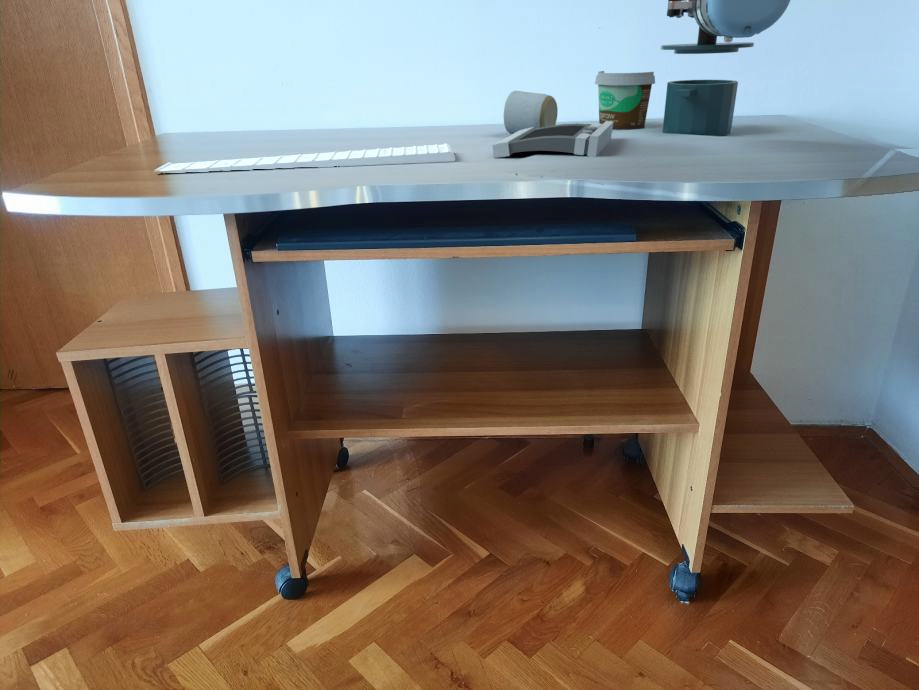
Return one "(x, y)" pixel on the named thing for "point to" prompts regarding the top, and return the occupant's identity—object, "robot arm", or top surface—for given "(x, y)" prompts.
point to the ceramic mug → (529, 111)
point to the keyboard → (326, 159)
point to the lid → (706, 45)
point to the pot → (700, 107)
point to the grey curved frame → (557, 139)
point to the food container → (624, 98)
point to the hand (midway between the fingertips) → (706, 7)
